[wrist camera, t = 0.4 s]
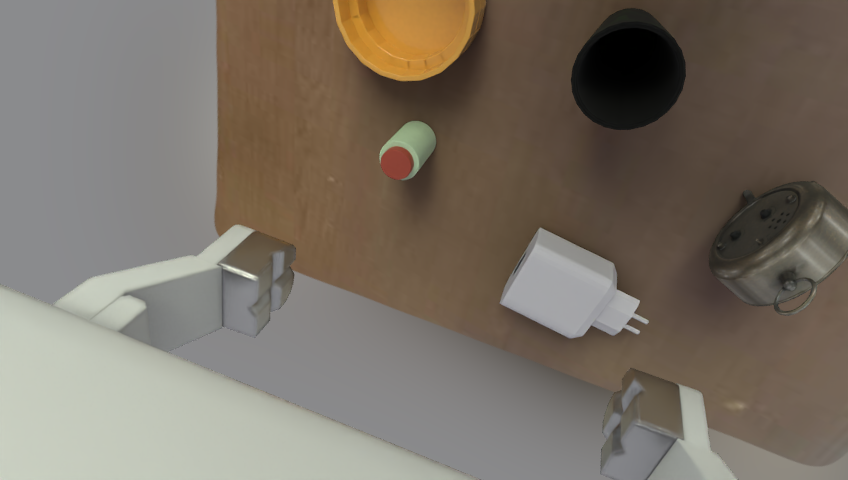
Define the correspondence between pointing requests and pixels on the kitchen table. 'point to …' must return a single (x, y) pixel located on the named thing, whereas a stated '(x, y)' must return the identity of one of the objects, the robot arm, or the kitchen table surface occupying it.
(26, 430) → the robot arm
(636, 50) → the cup
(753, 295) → the alarm clock
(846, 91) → the kitchen table surface
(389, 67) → the bowl
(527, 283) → the charger
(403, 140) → the container
